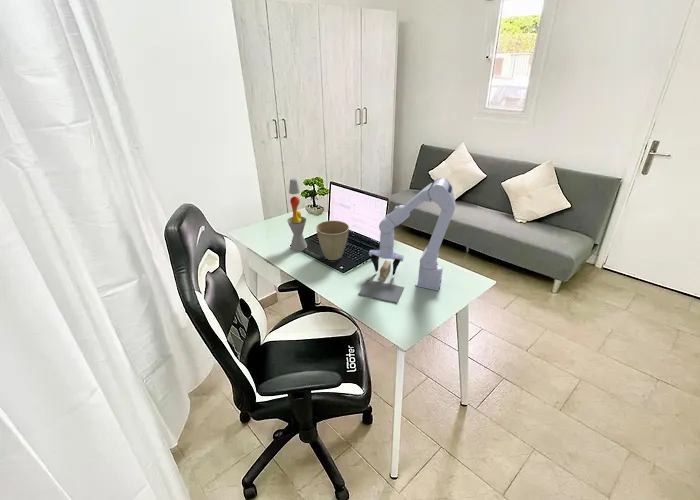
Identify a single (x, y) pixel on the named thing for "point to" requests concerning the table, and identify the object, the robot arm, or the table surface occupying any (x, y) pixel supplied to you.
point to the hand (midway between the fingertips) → (385, 272)
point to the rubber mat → (381, 291)
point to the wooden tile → (385, 270)
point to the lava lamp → (296, 220)
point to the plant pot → (332, 238)
